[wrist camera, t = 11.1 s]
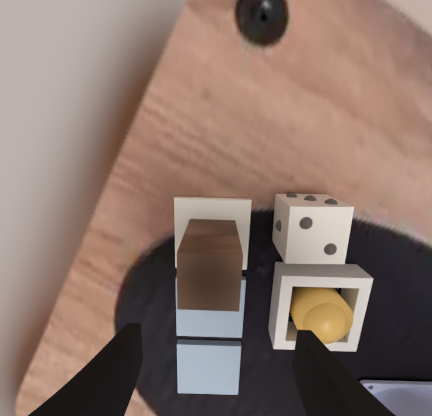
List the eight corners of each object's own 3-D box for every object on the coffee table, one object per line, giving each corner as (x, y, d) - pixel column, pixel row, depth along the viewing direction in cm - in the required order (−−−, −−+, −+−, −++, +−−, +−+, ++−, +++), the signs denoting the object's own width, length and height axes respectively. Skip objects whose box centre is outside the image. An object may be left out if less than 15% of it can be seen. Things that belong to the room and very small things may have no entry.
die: (326, 190, 18) (357, 203, 14) (319, 240, 19) (346, 266, 15) (271, 189, 18) (287, 203, 14) (268, 240, 19) (281, 265, 15)
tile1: (245, 276, 20) (246, 280, 20) (241, 332, 22) (241, 337, 21) (176, 274, 20) (175, 278, 20) (177, 330, 22) (176, 335, 21)
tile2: (250, 198, 18) (251, 200, 18) (245, 266, 20) (246, 269, 19) (175, 196, 18) (174, 197, 18) (176, 264, 20) (175, 267, 19)
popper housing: (356, 264, 20) (373, 278, 18) (342, 331, 22) (356, 351, 20) (275, 261, 20) (282, 275, 18) (268, 329, 22) (273, 349, 20)
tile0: (240, 341, 22) (241, 346, 22) (237, 388, 24) (237, 394, 23) (177, 339, 22) (176, 344, 22) (178, 386, 24) (177, 392, 23)
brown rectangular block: (235, 220, 18) (243, 255, 12) (232, 261, 19) (239, 311, 13) (189, 218, 18) (176, 252, 12) (189, 259, 19) (177, 309, 13)
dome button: (341, 279, 20) (368, 309, 16) (332, 322, 21) (356, 358, 17) (290, 277, 20) (305, 307, 16) (284, 320, 21) (298, 356, 17)
